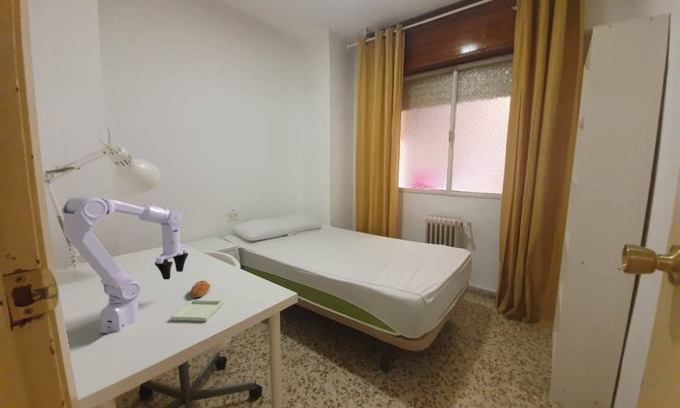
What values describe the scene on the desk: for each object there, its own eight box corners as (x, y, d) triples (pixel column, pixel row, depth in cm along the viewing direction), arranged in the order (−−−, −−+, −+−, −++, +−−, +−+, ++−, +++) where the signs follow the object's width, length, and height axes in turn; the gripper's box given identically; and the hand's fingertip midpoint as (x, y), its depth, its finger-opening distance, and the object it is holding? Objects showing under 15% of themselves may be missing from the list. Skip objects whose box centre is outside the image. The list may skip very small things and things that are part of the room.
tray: (206, 321, 88) (206, 317, 88) (171, 320, 88) (171, 316, 88) (223, 304, 100) (222, 300, 100) (192, 303, 100) (191, 299, 100)
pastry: (206, 298, 104) (205, 289, 104) (187, 299, 102) (186, 290, 102) (211, 287, 113) (210, 279, 113) (193, 288, 111) (193, 280, 111)
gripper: (168, 246, 93) (170, 283, 95) (192, 236, 108) (194, 268, 109) (149, 246, 93) (151, 282, 95) (176, 236, 108) (177, 268, 109)
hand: (173, 275), depth 102 cm, fingers open, 7 cm apart
